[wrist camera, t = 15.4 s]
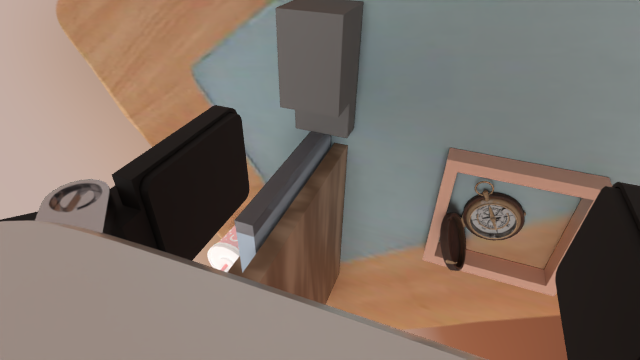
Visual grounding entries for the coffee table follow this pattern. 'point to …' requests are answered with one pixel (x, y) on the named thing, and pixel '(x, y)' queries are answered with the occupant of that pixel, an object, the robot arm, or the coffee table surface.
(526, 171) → the square frame
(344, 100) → the grey stepped block
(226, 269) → the beverage cup
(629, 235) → the robot arm
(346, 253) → the coffee table surface
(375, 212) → the coffee table surface
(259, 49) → the coffee table surface
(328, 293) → the door wall
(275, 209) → the sliding door
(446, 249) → the compass
